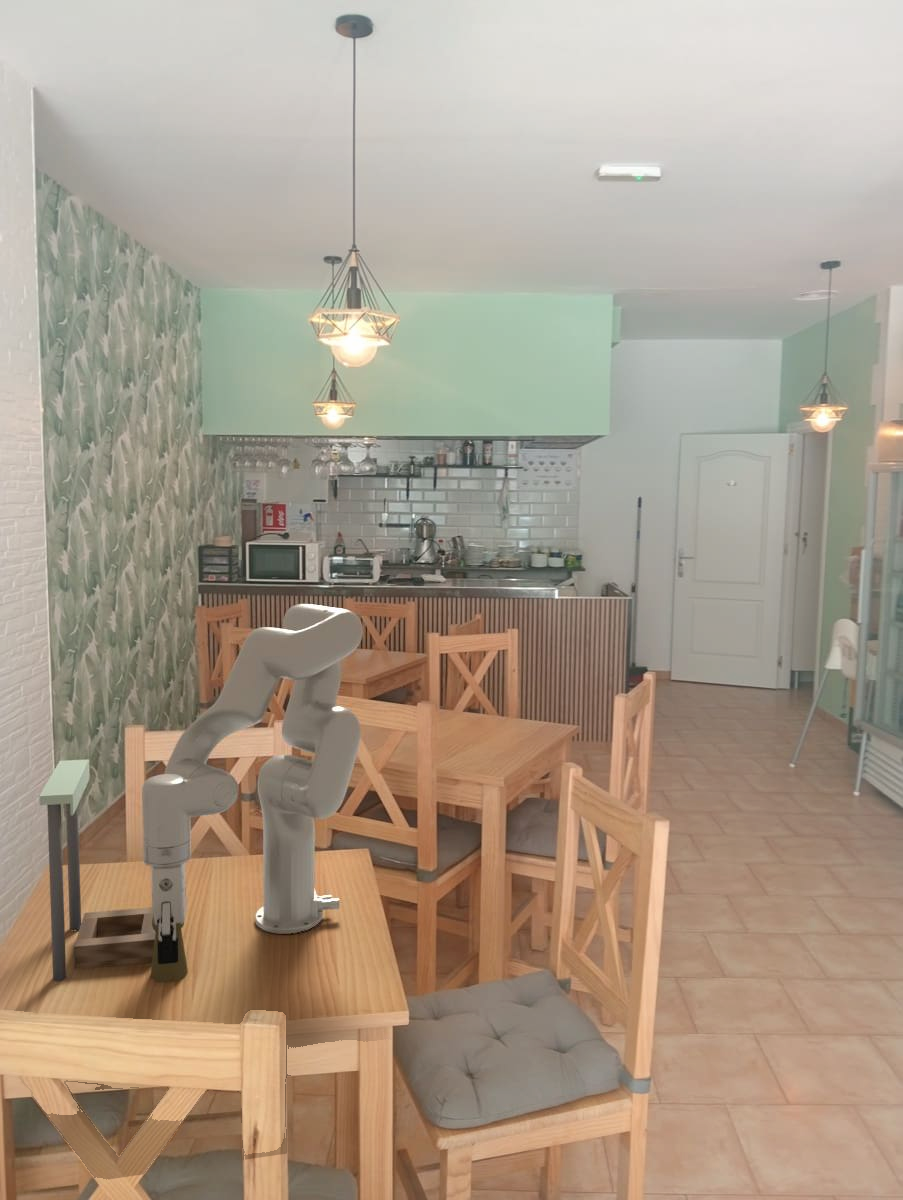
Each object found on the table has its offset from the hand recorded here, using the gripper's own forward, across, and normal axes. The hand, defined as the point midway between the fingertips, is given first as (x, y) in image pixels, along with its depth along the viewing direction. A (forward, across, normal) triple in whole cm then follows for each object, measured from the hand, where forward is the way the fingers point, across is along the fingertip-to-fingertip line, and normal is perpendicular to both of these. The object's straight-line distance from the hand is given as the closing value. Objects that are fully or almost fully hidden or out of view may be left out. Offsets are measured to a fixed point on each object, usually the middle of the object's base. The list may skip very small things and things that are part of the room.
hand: (168, 954), depth 159 cm
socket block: (+3, +11, +9) cm, 15 cm away
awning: (+3, +11, +17) cm, 21 cm away
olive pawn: (+3, 0, 0) cm, 3 cm away
